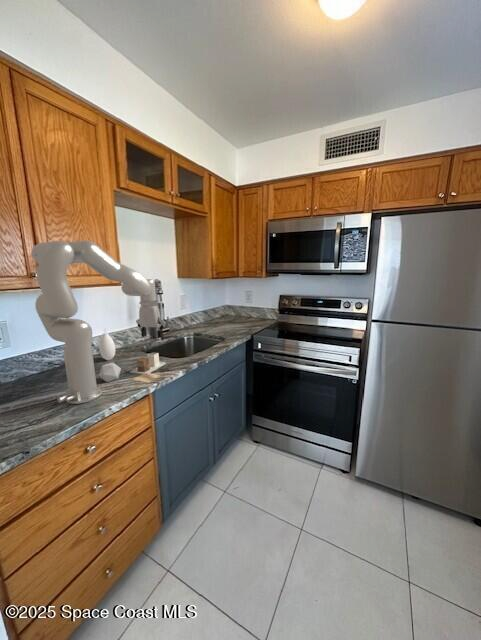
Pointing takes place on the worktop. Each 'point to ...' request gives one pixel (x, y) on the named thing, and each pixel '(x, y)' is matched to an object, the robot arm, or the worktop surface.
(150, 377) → the pad
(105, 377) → the die
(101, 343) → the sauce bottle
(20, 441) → the worktop surface
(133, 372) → the tray
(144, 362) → the walnut block
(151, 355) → the label box
